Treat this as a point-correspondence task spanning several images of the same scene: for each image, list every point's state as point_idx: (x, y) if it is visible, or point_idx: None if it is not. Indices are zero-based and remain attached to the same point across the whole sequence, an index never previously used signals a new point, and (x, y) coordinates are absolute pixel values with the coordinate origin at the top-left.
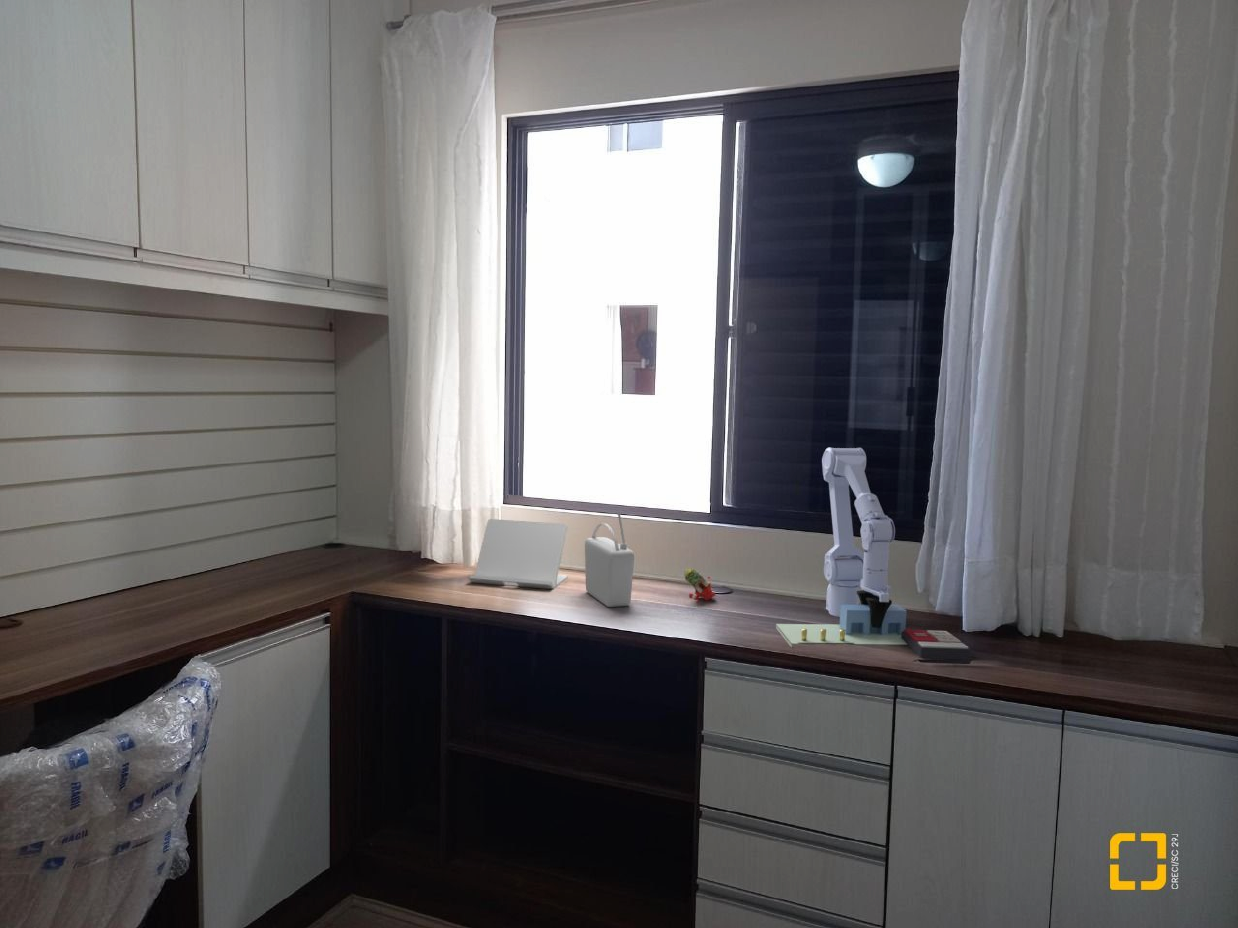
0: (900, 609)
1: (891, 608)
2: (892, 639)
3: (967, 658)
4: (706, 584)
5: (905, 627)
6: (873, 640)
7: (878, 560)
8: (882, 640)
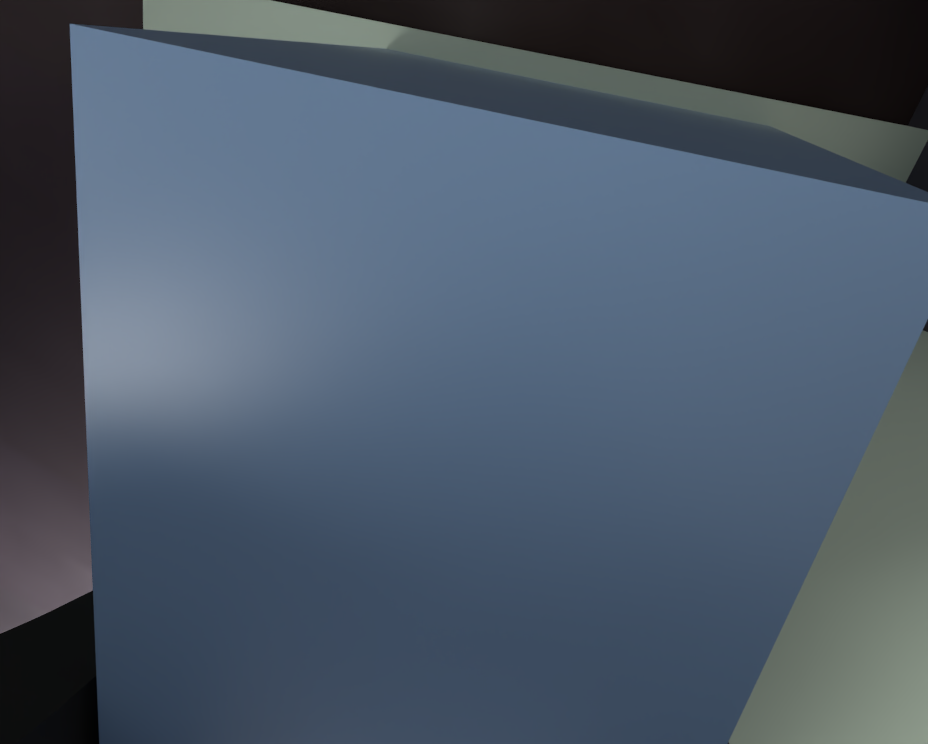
0: (689, 349)
1: (490, 569)
2: (902, 486)
3: None
4: None
5: (799, 139)
6: (838, 742)
7: None
8: (886, 644)
